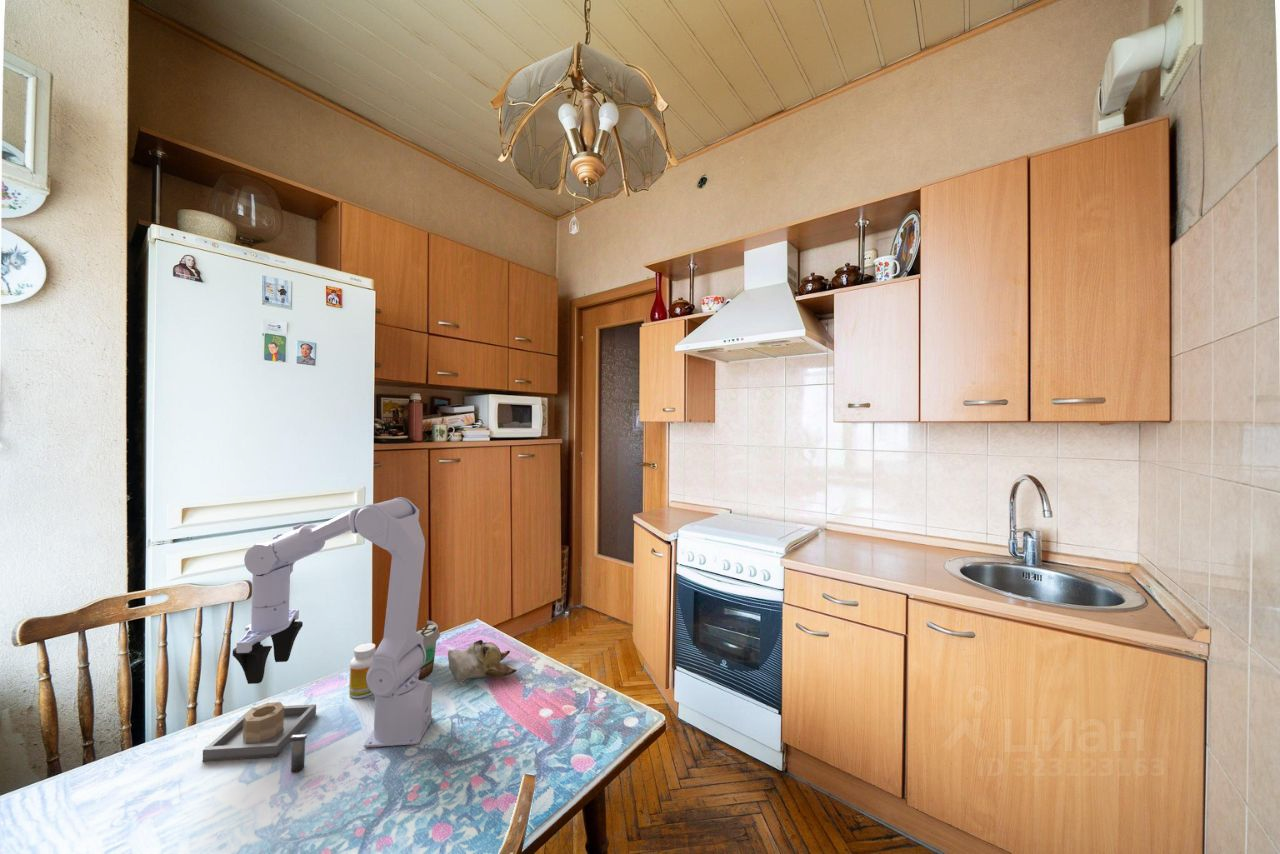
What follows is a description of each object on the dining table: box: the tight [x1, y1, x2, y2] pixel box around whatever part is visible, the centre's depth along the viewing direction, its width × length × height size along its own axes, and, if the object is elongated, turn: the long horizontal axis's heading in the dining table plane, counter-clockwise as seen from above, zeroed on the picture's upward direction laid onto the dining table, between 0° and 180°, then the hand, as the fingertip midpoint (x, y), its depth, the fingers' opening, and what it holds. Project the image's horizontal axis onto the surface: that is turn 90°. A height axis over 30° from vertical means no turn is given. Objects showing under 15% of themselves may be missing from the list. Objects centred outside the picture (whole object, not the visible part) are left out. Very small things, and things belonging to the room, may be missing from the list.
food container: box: [416, 620, 441, 681], centre depth 105 cm, size 12×6×10 cm, turn 168°
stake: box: [290, 733, 308, 774], centre depth 75 cm, size 2×2×6 cm
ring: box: [243, 701, 285, 744], centre depth 83 cm, size 5×5×4 cm
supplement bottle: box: [348, 642, 377, 699], centre depth 97 cm, size 5×5×10 cm
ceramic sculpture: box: [447, 639, 518, 684], centre depth 105 cm, size 11×9×15 cm
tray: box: [202, 703, 317, 762], centre depth 83 cm, size 12×12×2 cm
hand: (269, 671), depth 88 cm, fingers open, 7 cm apart
